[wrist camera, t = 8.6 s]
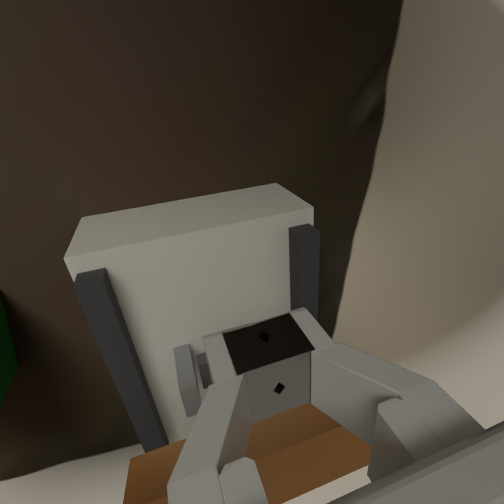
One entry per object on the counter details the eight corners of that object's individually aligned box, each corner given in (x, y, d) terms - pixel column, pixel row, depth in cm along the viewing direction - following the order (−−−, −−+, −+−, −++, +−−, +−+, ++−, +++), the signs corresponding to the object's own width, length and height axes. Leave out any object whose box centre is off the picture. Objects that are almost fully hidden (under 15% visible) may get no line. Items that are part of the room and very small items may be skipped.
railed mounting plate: (77, 273, 16) (72, 288, 15) (309, 223, 19) (320, 231, 18) (150, 447, 24) (151, 466, 23) (307, 390, 27) (315, 404, 26)
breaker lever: (145, 367, 20) (121, 514, 10) (289, 323, 22) (391, 405, 12) (152, 395, 20) (136, 568, 10) (294, 350, 22) (397, 451, 12)
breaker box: (81, 217, 21) (45, 297, 13) (276, 182, 24) (346, 228, 16) (147, 393, 29) (151, 506, 21) (283, 349, 33) (331, 433, 25)
